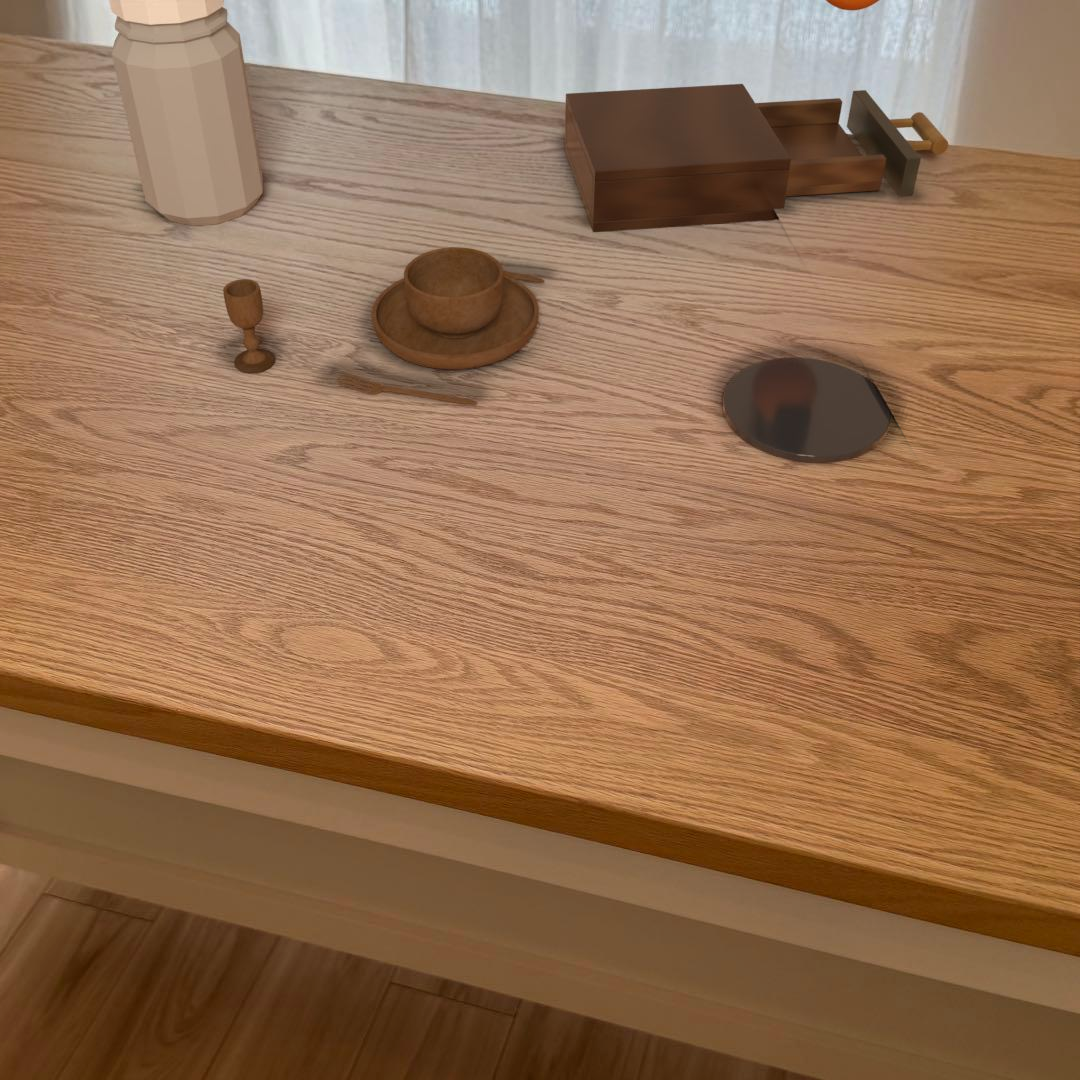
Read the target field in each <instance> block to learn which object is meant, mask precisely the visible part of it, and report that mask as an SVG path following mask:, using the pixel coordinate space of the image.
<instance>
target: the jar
mask: <svg viewBox="0 0 1080 1080" xmlns="http://www.w3.org/2000/svg"><path fill="white" fill-rule="evenodd" d="M224 1H225V0H108V2H109V6H110V10H111V13H112V14H113V15H116V19H115V22H114V30H115V31H116V32H118V33H117V35H116V37H115V39H114V41H113V46H112V50H111V58H112V63H113V66H114V70H115V75H116V79H117V84H118V88H119V92H120V96H121V101H122V105H123V111H124V114H125V117H126V122H127V127H128V131H129V134H130V139H131V143H132V148H133V152H134V156H135V160H136V161H135V162H136V165H137V169H138V173H139V178H140V183H141V187H142V192H143V195H144V201H145V202H146V203H147V204H148V205H150V206H151V207H152V208H154V210H156V211H157V212H158V213H159V214H161V215H162V216H163V217H164V218H166V219H167V220H168V221H169V222H172V223H178V224H183V225H188V226H191V227H194V226H207V225H209V226H210V225H220V224H222V223H225V222H228V221H231V220H234V219H237V218H240V217H242V216H243V215H245V214H246V213H247V212H248V211H250V210H251V209H252V208H253V207H254V206H255V205H256V203H258V201H259V200H260V197H262V195H263V193H264V177H263V171H262V165H261V159H260V158H261V157H260V152H259V147H258V140H257V134H256V128H255V122H254V115H253V109H252V103H251V97H250V90H249V84H248V78H247V71H246V66H245V58H244V53H243V45H242V40H241V34H240V33H239V32H238V31H237V30H236V28H234V26H232V25H231V23H229V22H228V9H227V8H225V7H224V4H225V3H224Z"/></svg>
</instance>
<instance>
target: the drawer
mask: <svg viewBox="0 0 1080 1080" xmlns="http://www.w3.org/2000/svg"><path fill="white" fill-rule="evenodd" d="M755 104H756V105H757V107H758V108H759V110H760V111H761V113H762V114H763V116H764V118H765V119H766V121H767V122H768V124H769V125H770V127H771V128H772V130H773V132H774V133H775V135H776V136H777V138H778V139H779V141H780V143H781V144H782V146H783V147H784V149H785V150H786V152H787V153H788V155H789V157H790V158H791V163H790V171H789V177H788V184H787V191H786V197H797V196H812V195H827V194H844V193H857V192H858V193H859V192H873V191H880V190H881V186H882V181H883V178H884V179H885V180H886V182H887V183H888V184H889V186H890V187H891V188H892V190H893V191H894V193H895V194H896V195H897V196H898V198H904V197H905V198H906V197H913V195H914V190H915V187H916V182H917V178H918V173H919V168H920V166H921V165H920V164H921V159H922V158H921V156H920V155H919V154H918V153H917V152H916V151H929V150H930V151H932V153H933V154H935V155H942V154H944V153H945V152H946V151H947V150H948V148H949V142H948V140H947V139H946V138H945V136H944V135H943V134H942V132H940V131H939V130H938V128H937V127H936V126H935V125H934V123H932V121H931V120H930V119H929V118H928V116H927V115H926V114H924V113H923V112H921V111H919V112H918V111H917V112H916V113H913V114H912V115H911V117H909V118H908V117H907V118H891V119H890V118H889V117H888V116H887V114H886V113H885V112H884V111H883V110H882V108H881V107H880V106H879V105H878V104H877V103H876V101H875V99H874V98H872V96H871V95H870V94H869V92H868V91H867V90H866V89H862V90H861V89H860V90H853V91H852V95H851V100H850V105H849V106H850V107H849V111H848V117H847V123H846V128H847V129H848V131H849V132H850V133H851V135H852V136H853V138H854V139H855V140H856V141H857V143H858V144H859V145H860V147H861V148H862V149H863V151H864V152H865V153H866V155H862V153H861V151H860V150H859V148H858V147H857V146H856V144H855V143H854V141H853V140H852V139H851V138H850V137H849V135H848V133H846V131H845V130H844V128H843V127H842V126H841V125H840V117H841V112H842V108H843V107H842V106H843V100H842V99H841V98H840V97H838V98H819V99H804V100H801V99H800V100H785V101H783V100H782V101H767V102H755ZM901 128H902V129H903V128H912V129H913V130H914V131H915V132H916V134H917V135H918V136H919V138H920V139H921V140H910V141H908V140H907V139H906V138H905V136H903V134H902V133H901V132H900V131H899V129H901Z"/></svg>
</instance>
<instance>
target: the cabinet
mask: <svg viewBox="0 0 1080 1080" xmlns="http://www.w3.org/2000/svg"><path fill="white" fill-rule="evenodd" d="M755 103H756V101H754V99H753V97H752V96H751V94H750V93H749V91H748V90H747V88H746V86H745V85H744V84H743V83H731V84H715V85H714V84H713V85H711V84H710V85H695V86H680V87H679V86H677V87H663V88H662V87H659V88H658V87H657V88H642V89H624V90H609V91H608V90H606V91H590V92H589V91H587V92H586V91H585V92H571V93H570V92H569V93H565V112H564V113H565V114H564V115H565V119H564V152H565V155H566V158H567V159H566V160H567V161H568V164H569V167H570V170H571V172H572V175H573V179H574V181H575V184H576V187H577V190H578V193H579V195H580V198H581V201H582V204H583V207H584V210H585V213H586V215H587V218H588V221H589V224H590V228H591V230H592V232H593V233H596V232H597V233H599V232H601V233H602V232H613V231H614V232H615V231H628V230H644V229H658V228H672V227H673V228H675V227H687V226H701V225H702V224H705V225H716V224H717V223H719V224H731V223H730V222H734V223H744V222H745V221H749V222H760V221H759V220H764V221H775V220H774V219H778V220H780V218H779V216H778V214H777V213H776V210H779V209H780V210H781V209H785V203H786V197H787V196H786V191H787V184H788V177H789V171H790V163H791V158H790V157H789V155H788V153H787V152H786V150H785V149H784V147H783V146H782V144H781V143H780V141H779V139H778V138H777V136H776V135H775V133H774V132H773V130H772V128H771V127H770V125H769V124H768V122H767V121H766V119H765V118H764V116H763V114H762V113H761V111H760V110H759V108H758V107H757V105H756V104H755ZM745 223H746V222H745ZM717 225H718V224H717ZM702 226H703V225H702Z"/></svg>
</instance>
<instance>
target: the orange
mask: <svg viewBox="0 0 1080 1080" xmlns="http://www.w3.org/2000/svg"><path fill="white" fill-rule="evenodd" d="M825 1H826V2H827V3H828V4H830V5H831V6H833V7H835V8H837V9H839V10H844V11H859V10H863V9H867V8H869V7H872V6H873V5H875V4H876V3H878V2H879V1H880V0H825Z"/></svg>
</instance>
